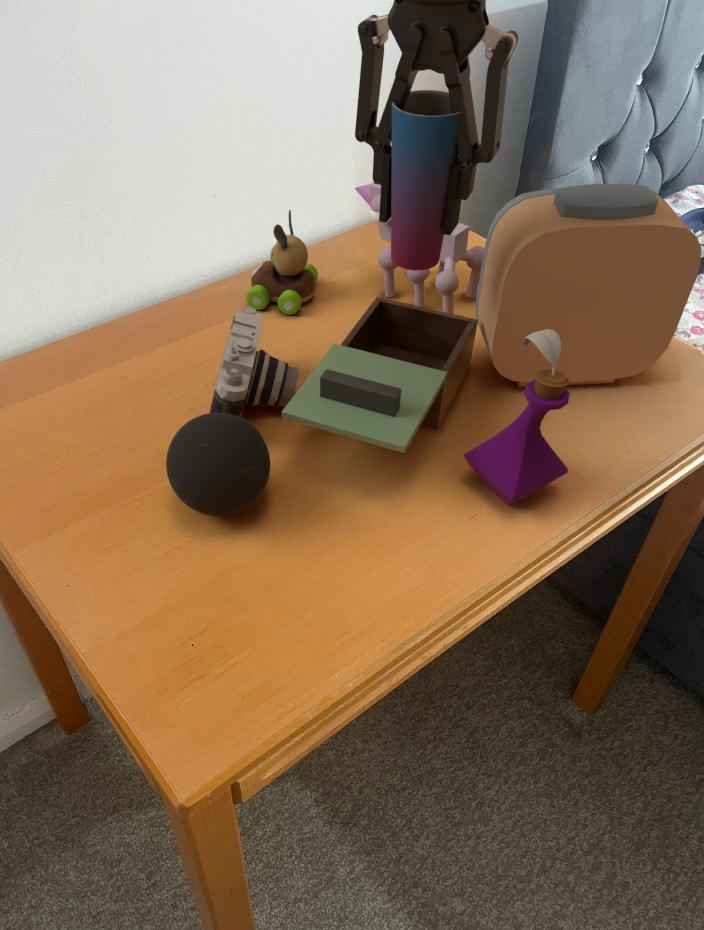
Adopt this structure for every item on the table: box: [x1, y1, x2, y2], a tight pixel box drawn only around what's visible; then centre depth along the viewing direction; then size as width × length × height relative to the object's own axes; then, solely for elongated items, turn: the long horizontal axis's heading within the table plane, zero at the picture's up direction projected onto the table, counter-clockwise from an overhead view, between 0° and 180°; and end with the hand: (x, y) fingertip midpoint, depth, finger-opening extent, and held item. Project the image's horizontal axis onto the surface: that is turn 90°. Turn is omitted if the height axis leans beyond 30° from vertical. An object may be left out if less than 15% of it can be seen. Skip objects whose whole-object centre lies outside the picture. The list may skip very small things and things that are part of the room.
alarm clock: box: [475, 183, 702, 388], centre depth 85 cm, size 21×10×22 cm, turn 94°
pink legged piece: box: [354, 182, 485, 314], centre depth 100 cm, size 20×11×14 cm, turn 48°
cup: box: [390, 89, 460, 271], centre depth 73 cm, size 7×7×15 cm
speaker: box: [165, 412, 271, 517], centre depth 73 cm, size 10×10×10 cm
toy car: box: [245, 209, 319, 316], centre depth 100 cm, size 9×9×11 cm
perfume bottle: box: [463, 329, 571, 506], centre depth 71 cm, size 8×8×18 cm
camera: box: [209, 305, 300, 418], centre depth 84 cm, size 16×9×10 cm, turn 176°
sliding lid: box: [281, 343, 447, 454], centre depth 76 cm, size 13×13×3 cm
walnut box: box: [340, 296, 478, 429], centre depth 88 cm, size 13×13×7 cm
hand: (418, 222), depth 76 cm, fingers closed on cup, 6 cm apart
